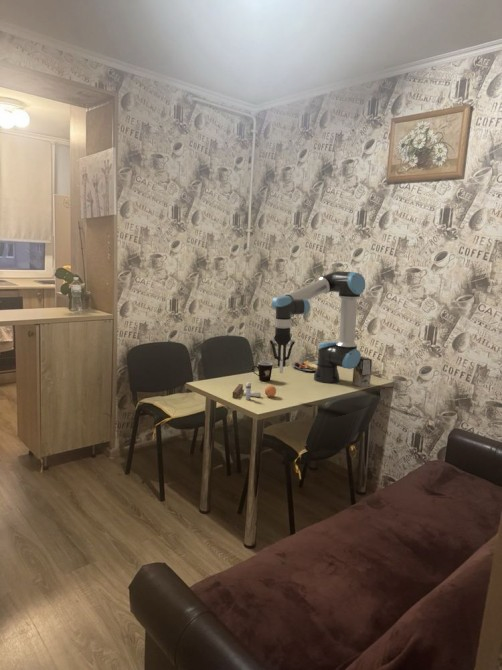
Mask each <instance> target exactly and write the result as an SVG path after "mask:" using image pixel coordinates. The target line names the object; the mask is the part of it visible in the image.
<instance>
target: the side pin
mask: <svg viewBox="0 0 502 670" xmlns="http://www.w3.org/2000/svg"><path fill="white" fill-rule="evenodd" d="M251 389H252V383H251V382H248V381H247V382H245V391H246V395H245V400H246V401H251V397H252V396H251Z"/></svg>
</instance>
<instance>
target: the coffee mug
mask: <svg viewBox="0 0 502 670" xmlns="http://www.w3.org/2000/svg"><path fill="white" fill-rule="evenodd" d="M273 365H274V364H273V363H272V362H269V361H260V362H258V363H257V365H255V366H252V369H251V371H252V373H254V374H255V375H256V376H258V381H260V382H264V383H267V382H270V381H271V377H272V372H273ZM255 368H257V370H258V373H257V372H255V371H254V369H255Z"/></svg>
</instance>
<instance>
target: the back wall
mask: <svg viewBox="0 0 502 670" xmlns="http://www.w3.org/2000/svg"><path fill="white" fill-rule="evenodd" d="M243 386H244V384H242V383H239V384H238V385H237V386H236V387H235V389H234V390H232V398H233V399H237V398H238V397H239V395H240V394H241V393H242V392H243V389H244V387H243Z"/></svg>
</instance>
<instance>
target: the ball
mask: <svg viewBox="0 0 502 670" xmlns="http://www.w3.org/2000/svg"><path fill="white" fill-rule="evenodd" d="M264 394H265V396H267V397H269V398H273V397H274V396H275V395H276V394H277V388H276V386H274V385H272V384H269V385H267V386H265V388H264Z"/></svg>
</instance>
